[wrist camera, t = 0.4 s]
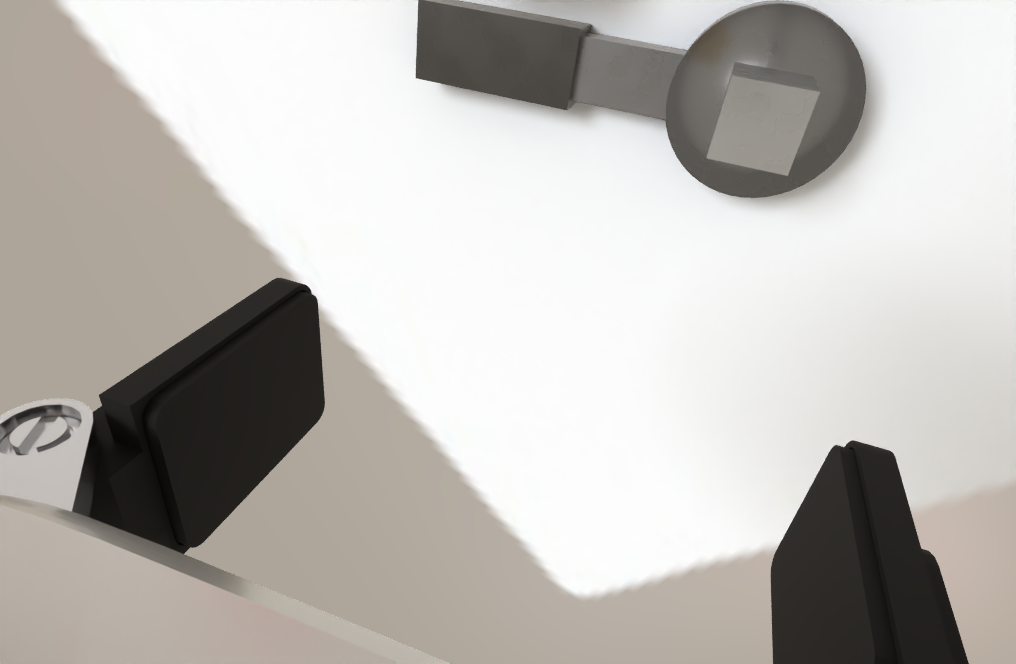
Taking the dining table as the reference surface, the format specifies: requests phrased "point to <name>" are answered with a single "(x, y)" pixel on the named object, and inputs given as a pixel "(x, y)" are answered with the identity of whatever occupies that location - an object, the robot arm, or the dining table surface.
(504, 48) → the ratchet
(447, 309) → the dining table surface
